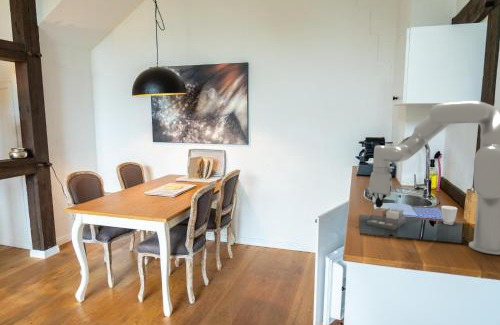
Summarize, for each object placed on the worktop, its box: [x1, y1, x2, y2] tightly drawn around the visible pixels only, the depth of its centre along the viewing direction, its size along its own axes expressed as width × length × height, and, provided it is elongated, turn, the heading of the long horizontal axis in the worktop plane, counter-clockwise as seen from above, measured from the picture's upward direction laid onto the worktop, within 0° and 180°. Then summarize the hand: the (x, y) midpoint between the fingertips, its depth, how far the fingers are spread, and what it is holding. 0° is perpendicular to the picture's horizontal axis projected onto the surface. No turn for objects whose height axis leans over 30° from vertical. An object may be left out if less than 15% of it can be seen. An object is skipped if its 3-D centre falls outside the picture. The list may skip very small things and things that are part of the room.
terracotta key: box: [372, 207, 386, 217], centre depth 160 cm, size 5×5×3 cm
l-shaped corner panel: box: [371, 191, 398, 204], centre depth 197 cm, size 12×12×8 cm
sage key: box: [377, 205, 391, 212], centre depth 165 cm, size 5×5×3 cm
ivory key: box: [386, 209, 399, 219], centre depth 156 cm, size 5×5×3 cm
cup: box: [440, 205, 458, 226], centre depth 160 cm, size 7×10×8 cm
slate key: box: [390, 207, 404, 217], centre depth 160 cm, size 5×5×3 cm
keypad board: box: [366, 213, 406, 231], centre depth 159 cm, size 13×17×4 cm
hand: (378, 206), depth 160 cm, fingers closed
